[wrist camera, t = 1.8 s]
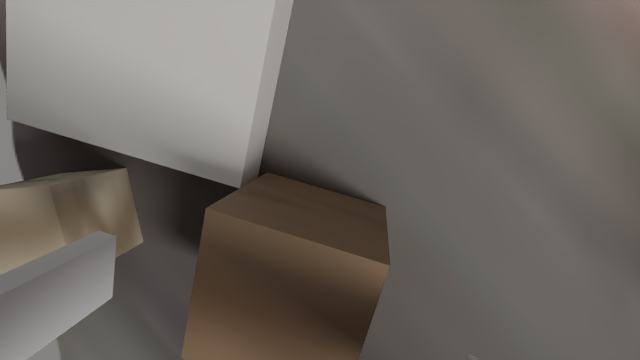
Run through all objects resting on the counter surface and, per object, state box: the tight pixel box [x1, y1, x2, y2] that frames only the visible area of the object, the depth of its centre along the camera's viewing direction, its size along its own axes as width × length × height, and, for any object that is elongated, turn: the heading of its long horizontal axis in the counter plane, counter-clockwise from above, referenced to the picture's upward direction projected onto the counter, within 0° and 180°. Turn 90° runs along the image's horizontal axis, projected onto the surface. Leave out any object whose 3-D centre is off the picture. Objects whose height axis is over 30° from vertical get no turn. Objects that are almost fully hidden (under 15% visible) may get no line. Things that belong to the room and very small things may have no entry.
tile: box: [6, 0, 294, 189], centre depth 16 cm, size 14×14×2 cm
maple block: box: [0, 168, 143, 275], centre depth 19 cm, size 5×5×5 cm
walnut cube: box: [181, 172, 390, 360], centre depth 16 cm, size 7×7×7 cm
